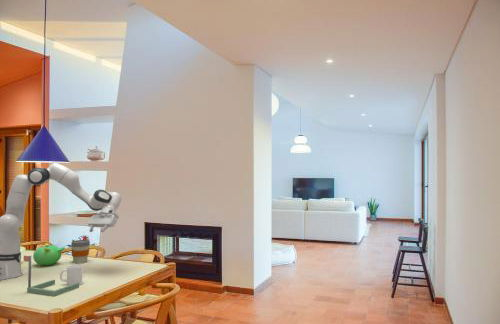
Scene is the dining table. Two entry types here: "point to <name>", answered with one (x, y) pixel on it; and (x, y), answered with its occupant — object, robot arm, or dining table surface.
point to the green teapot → (47, 254)
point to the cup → (73, 274)
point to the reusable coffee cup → (80, 251)
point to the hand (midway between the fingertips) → (96, 231)
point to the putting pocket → (46, 284)
